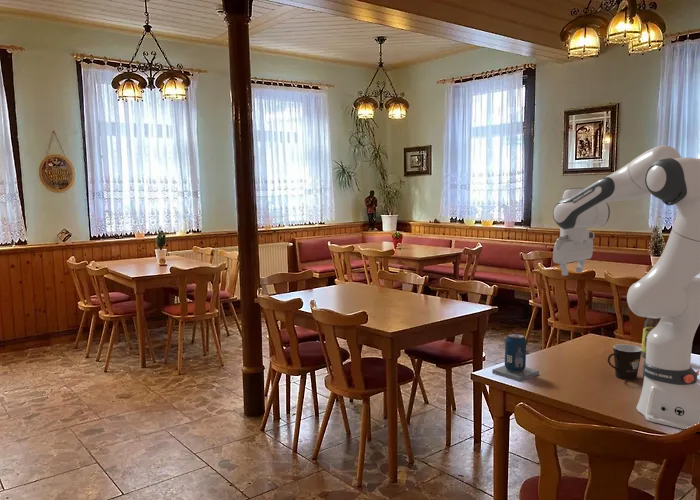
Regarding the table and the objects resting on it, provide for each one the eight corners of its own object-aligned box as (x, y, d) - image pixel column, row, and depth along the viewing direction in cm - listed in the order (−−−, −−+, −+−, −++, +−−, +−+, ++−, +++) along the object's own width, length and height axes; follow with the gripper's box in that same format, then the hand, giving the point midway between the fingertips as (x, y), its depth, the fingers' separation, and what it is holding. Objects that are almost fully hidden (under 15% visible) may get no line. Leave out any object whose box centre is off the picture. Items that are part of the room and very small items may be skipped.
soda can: (512, 364, 202) (513, 331, 201) (529, 369, 197) (530, 335, 195) (500, 368, 198) (501, 334, 196) (517, 374, 192) (518, 339, 191)
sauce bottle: (642, 358, 212) (645, 306, 209) (640, 354, 217) (642, 302, 215) (661, 360, 209) (664, 307, 207) (659, 355, 215) (662, 303, 213)
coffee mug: (634, 372, 197) (635, 344, 195) (644, 381, 188) (646, 352, 187) (599, 372, 198) (600, 344, 197) (607, 380, 189) (609, 351, 188)
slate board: (538, 374, 196) (538, 370, 196) (519, 381, 190) (519, 377, 189) (511, 366, 205) (511, 362, 205) (492, 373, 198) (492, 369, 198)
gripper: (565, 237, 191) (564, 278, 193) (597, 233, 204) (595, 271, 205) (548, 236, 196) (547, 276, 197) (580, 232, 208) (578, 269, 210)
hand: (572, 273), depth 201 cm, fingers open, 8 cm apart
